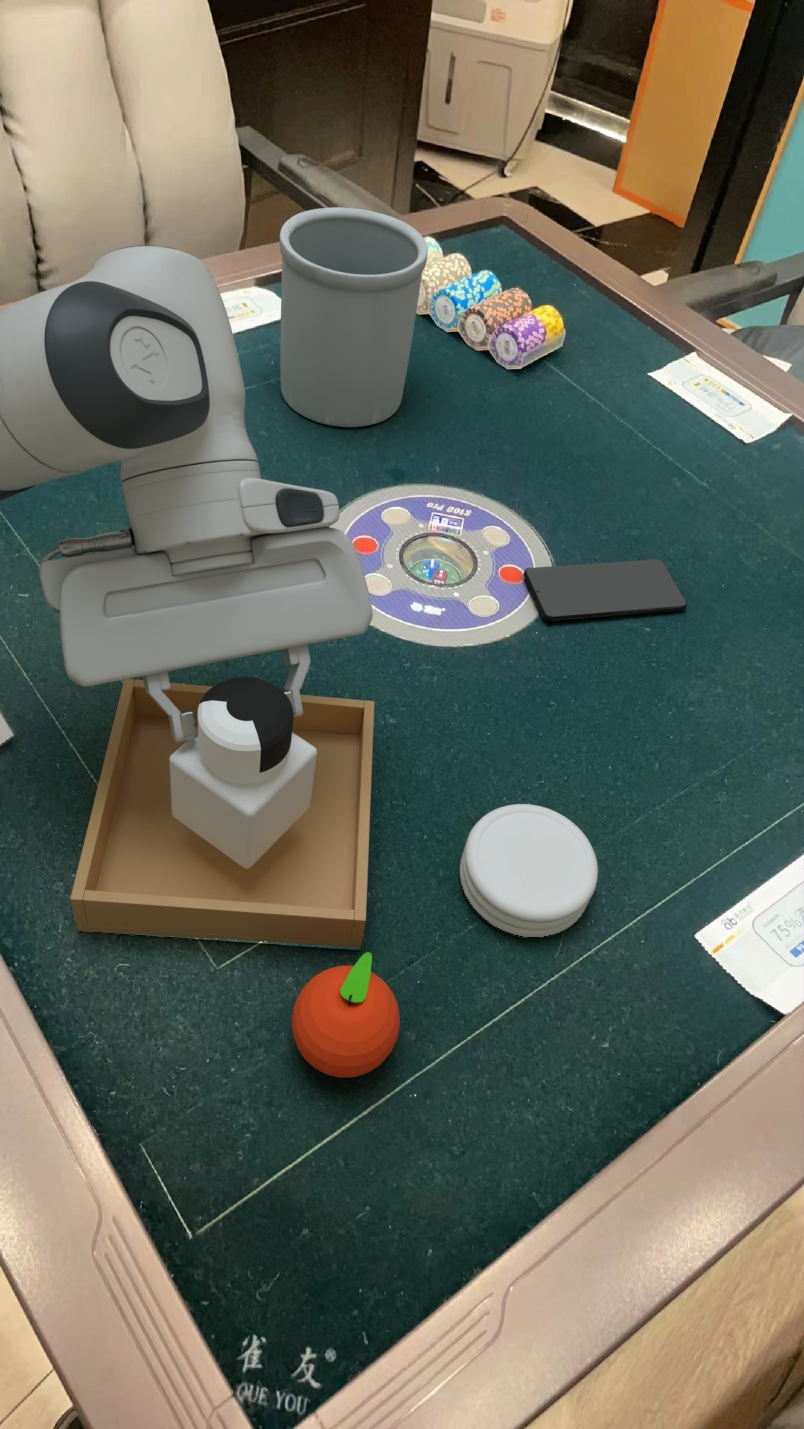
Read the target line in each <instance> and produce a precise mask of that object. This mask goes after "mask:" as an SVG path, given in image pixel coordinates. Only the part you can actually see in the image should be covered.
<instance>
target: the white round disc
mask: <svg viewBox="0 0 804 1429" xmlns="http://www.w3.org/2000/svg"><path fill="white" fill-rule="evenodd" d="M598 868H599V867H598V860H597V856H596V853H595V851H594V848H593V845H592V844H591V842H590V840H589V839H588V837H587V836H586V835H585V833H584V832H583V831H582V829H580V828H579V827H578V825H576V824H575V823H574V822H573V821H572V820H570V819H568V818H567V817H566V816H564V815H563V814H561V813H559V812H557V811H556V810H553V809H551V808H548V807H545V806H541V805H537V804H529V803H515V804H508V805H503V806H500V807H497V808H495V809H493V810H491V811H489V812H488V813H486V814H485V815H484V816H482V817H481V818H480V819H479V820H478V821H476V823H475V824H474V825H473V827H472V828H471V830H470V832H469V833H468V836H467V838H466V841H465V845H464V848H463V851H462V854H461V857H460V862H459V880H460V884H461V887H463V888H462V891H463V890H464V891H463V894H464V896H465V898H466V897H467V898H466V900H467V899H468V900H469V901H468V900H467V901H468V903H469V902H470V903H469V905H470V904H471V905H472V906H473V907H472V906H471V905H470V906H471V907H472V909H473V908H474V909H475V910H476V911H477V912H478V913H479V914H480V915H481V916H482V917H483V918H484V919H485V920H487V921H488V922H489V923H490V924H492V925H493V926H492V925H491V926H492V927H494V926H495V927H497V928H499V929H501V930H503V931H506V932H508V933H511V934H514V935H513V936H515V935H519V936H518V937H520V936H523V937H522V938H527V937H540V938H545V937H544V936H547V937H550V936H549V935H551V936H554V935H556V933H557V934H559V933H561V931H562V932H563V931H565V930H567V929H568V928H570V927H572V926H573V925H574V924H575V923H576V922H577V921H579V919H580V918H581V917H582V915H583V914H584V912H585V910H586V909H587V906H588V904H590V900H591V898H592V897H593V895H594V893H595V891H596V888H597V883H598V877H599V876H598V875H599V869H598ZM474 909H473V910H474ZM475 910H474V911H475ZM476 911H475V912H476ZM477 912H476V913H477ZM478 913H477V914H478ZM582 913H583V914H582ZM479 914H478V915H479ZM480 915H479V916H480ZM481 916H480V917H481ZM482 917H481V918H482ZM483 918H482V919H483ZM578 918H579V919H578ZM484 919H483V920H484ZM485 920H484V921H485ZM488 922H487V923H488ZM489 923H488V924H489ZM490 924H489V925H490ZM495 927H494V928H495ZM497 928H496V929H497ZM499 929H498V930H499ZM501 930H500V931H501ZM503 931H502V932H503ZM506 932H505V933H506ZM508 933H507V934H508ZM511 934H510V935H511ZM553 934H554V935H553Z"/></svg>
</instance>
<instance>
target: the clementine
mask: <svg viewBox="0 0 804 1429" xmlns="http://www.w3.org/2000/svg"><path fill="white" fill-rule="evenodd" d="M372 954H373V953H372V952H369V951H366V952H364V953H363V954H362V955H361V956H360V957H359V959H358V960H357V961H356V963H354V964H353V965H337V966H334V967H330V968H327V969H326V970H323V971H321V972H320V973H317V974H316V975H314V976H312V978H311V979H310V980H308V982H306V984H304V986H303V987H302V989H301V990H300V993H299V994H298V996H297V998H296V1000H295V1003H294V1007H293V1010H292V1014H291V1030H292V1035H293V1038H294V1041H295V1044H296V1047H297V1049H298V1051H299V1052H300V1055H301V1056H302V1057H303V1059H304V1060H305V1061H306V1062H307V1063H308V1064H309V1065H310V1066H311V1067H313V1068H314V1069H315V1070H317V1071H319V1072H321V1073H323V1074H325V1075H327V1076H332V1077H336V1078H342V1079H344V1078H356V1077H361V1076H363V1075H366V1074H369V1073H370V1072H372V1071H373V1070H375V1069H376V1068H379V1066H381V1065H382V1063H384V1061H385V1060H386V1059H387V1058H388V1057H389V1055H390V1054H391V1052H392V1051H393V1049H394V1047H395V1045H396V1043H397V1041H398V1037H399V1034H400V1033H399V1032H400V1027H401V1019H400V1018H401V1017H400V1010H399V1004H398V1001H397V999H396V997H395V994H394V992H393V991H392V990H391V989H390V987H389V985H388V984H387V983H386V981H384V980H383V979H382V978H381V977H380V976H378V975H377V974H376V973H374V972H373V971H372V963H373V955H372Z"/></svg>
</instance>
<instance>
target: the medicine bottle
mask: <svg viewBox="0 0 804 1429" xmlns="http://www.w3.org/2000/svg"><path fill="white" fill-rule="evenodd" d="M282 690H283V689H281V688H280V687H279V686H277V685H275V684H274V683H272V682H270V681H267V680H265V679H262V678H258V677H254V676H253V677H252V676H237V677H231V678H228V679H226V680H222V681H220V682H218V683H216V684H215V685H213V686H212V688H211V689H209V690H208V691H207V692H206V693H205V695H204V696H203V698H202V699H201V701H200V704H199V707H198V737H196V738H192V739H189V740H188V741H187V742H185V743H184V744H183V745H182V746H181V747H180V748H178V749H177V750H176V751H175V752H174V753H173V754H172V755H171V756H170V758H169V760H170V781H171V802H172V815H173V816H174V817H175V818H176V819H177V820H179V821H180V822H181V823H183V824H184V825H186V826H187V827H188V828H190V829H191V830H192V831H194V832H195V833H197V834H198V835H199V836H201V837H202V838H203V839H205V840H206V841H208V842H209V843H210V844H212V845H213V846H214V847H216V848H217V849H219V850H220V851H221V852H223V853H224V854H225V855H227V856H228V857H230V858H231V859H232V860H234V861H235V862H236V863H238V864H239V865H241V866H242V867H243V868H245V869H249V868H251V867H252V865H253V864H254V863H255V862H256V861H257V860H258V859H259V858H260V857H261V856H262V855H263V854H264V853H265V852H266V851H267V850H268V849H269V848H270V847H271V846H272V845H273V844H274V843H275V842H276V841H277V840H278V839H279V838H280V837H281V836H282V835H283V834H284V833H285V832H286V831H287V830H288V829H289V828H290V827H291V826H292V825H293V824H294V823H295V822H296V821H297V820H298V819H299V818H300V817H301V816H302V814H303V813H304V812H305V811H306V810H307V809H308V808H309V807H310V802H311V795H312V787H313V780H314V772H315V765H316V757H317V750H316V748H315V747H314V746H312V745H311V744H309V743H308V742H306V741H305V740H303V739H302V738H300V737H299V736H297V735H296V734H294V733H293V732H292V729H293V719H294V712H293V707H292V704H291V702H290V700H289V698H288V697H287V695H286V694H285V693H284V692H283V691H282Z"/></svg>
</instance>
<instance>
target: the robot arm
mask: <svg viewBox="0 0 804 1429" xmlns="http://www.w3.org/2000/svg"><path fill="white" fill-rule="evenodd" d="M235 340H236V339H235V336H234V332H233V330H232V326H231V323H230V319H229V316H228V312H227V309H226V306H225V303H224V300H223V298H222V295H221V292H220V290H219V287H218V285H217V283H216V281H215V278H214V276H213V275H212V273H211V271H210V269H209V268H208V266H207V265H206V264H205V263H204V261H202V260H201V259H200V258H198V257H196V256H194V255H192V254H190V253H188V252H185V251H183V250H179V249H177V248H174V247H169V246H164V245H162V246H161V245H144V244H143V245H132V246H131V245H130V246H124V247H120V248H117V249H114V250H112V251H111V250H110V251H108V252H107V253H105V254H103V255H102V256H100V258H98V259H97V260H96V261H95V263H93V266H92V268H91V270H90V271H89V272H87V274H85V275H83V276H82V277H80V278H78V279H76V280H74V281H72V282H70V283H66V284H62V285H58V286H56V287H55V286H54V287H53V288H50V289H47V290H44V291H41V292H39V293H36V294H34V295H31V296H29V297H26V298H23V299H22V300H19V301H16V302H14V303H11V304H9V305H8V306H6V307H5V308H2V309H0V502H1V501H3V500H6V499H9V498H11V497H14V496H16V495H18V494H21V493H23V492H26V491H28V490H31V489H32V488H34V487H36V486H38V485H42V484H45V483H46V484H47V483H49V482H53V481H56V480H61V479H64V478H68V477H73V476H76V475H79V474H83V473H86V472H89V471H91V470H93V469H95V468H99V467H102V466H107V465H110V464H113V463H117V462H120V468H119V478H120V484H121V489H122V495H123V499H124V504H125V509H126V514H127V519H128V524H129V528H128V529H122V530H117V531H110V532H105V533H101V534H97V535H93V536H89V537H79V536H78V537H70V538H66V539H63V540H60V541H58V546H56V547H53V548H52V549H50V550H49V551H48V552H46V554H45V555H44V556H43V557H42V558H41V561H40V564H39V569H38V573H39V579H40V584H41V589H42V594H43V598H44V600H45V601H46V603H47V605H48V606H49V607H50V608H51V609H52V610H53V611H55V612H56V613H58V616H59V617H58V618H59V633H60V634H59V636H60V643H61V644H60V645H61V651H62V652H61V653H62V659H63V664H64V669H65V674H66V676H67V678H68V679H69V680H70V681H71V682H73V683H74V684H76V685H78V686H80V687H83V688H87V687H94V686H98V685H102V684H109V683H113V682H119V681H124V680H125V679H134V678H138V677H139V678H140V677H142V680H144V684H145V689H146V692H147V693H148V694H149V695H150V697H151V698H152V699H153V700H154V701H155V702H156V703H157V704H158V705H159V707H160V708H161V709H162V710H163V711H164V712H165V713H166V714H167V715H168V716H169V721H170V726H171V731H172V735H173V738H174V741H176V742H179V741H184V740H188V739H192V738H196V737H198V730H197V727H196V726H194V724H195V722H196V720H195V715H194V711H191V710H184V711H179V710H178V709H177V708H176V706H175V705H174V704H173V703H172V702H171V701H170V700H169V698H168V697H167V696H166V695H165V694H164V693H163V692H162V689H163V690H166V689H170V683H171V682H170V677H169V672H171V671H177V670H181V669H186V668H191V667H192V668H193V667H198V666H202V665H209V664H213V663H218V662H224V661H228V660H233V659H239V658H245V657H251V656H254V655H260V654H265V653H271V652H275V651H276V652H277V651H280V652H281V658H282V662H283V664H285V665H291V666H290V668H289V671H288V674H287V678H286V681H285V683H284V687H283V689H281V690H282V691H283V692H284V693H285V694H286V695H287V697H288V698H289V700H290V702H291V704H292V707H293V712H294V717H296V716H300V715H303V707H302V702H301V696H300V695H301V692H300V690H302V688H303V686H304V681H305V679H306V676H307V673H308V671H309V668H310V665H311V663H312V661H311V655H310V650H309V645H313V644H317V643H318V644H319V643H323V642H327V641H334V640H338V639H343V638H349V637H356V636H359V635H363V634H366V632H367V630H368V628H369V627H370V624H371V622H372V620H373V616H374V613H373V606H372V602H371V596H370V591H369V588H368V584H367V580H366V576H365V573H364V569H363V566H362V562H361V560H360V557H359V554H358V551H357V548H356V547H355V544H354V543H353V541H352V540H351V538H349V536H348V535H347V534H345V532H343V531H342V530H340V529H338V528H335V527H330V526H332V525H334V524H336V523H338V521H339V519H340V514H341V513H340V505H339V500H338V497H337V496H336V495H335V494H334V493H332V492H331V491H329V490H324V489H318V488H313V487H306V486H300V485H294V484H290V483H284V482H278V481H273V480H268V479H264V478H262V476H261V468H260V464H259V458H258V456H257V453H256V451H255V448H254V446H253V445H252V442H251V440H250V438H249V435H248V432H247V426H246V421H245V420H246V418H245V413H246V412H245V410H246V401H247V400H246V398H247V397H246V396H247V394H246V388H245V383H244V377H243V373H242V368H241V363H240V357H239V353H238V348H237V344H236V341H235ZM58 554H60V556H61V558H54V557H55V556H57V555H58ZM53 558H54V559H53Z"/></svg>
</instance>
